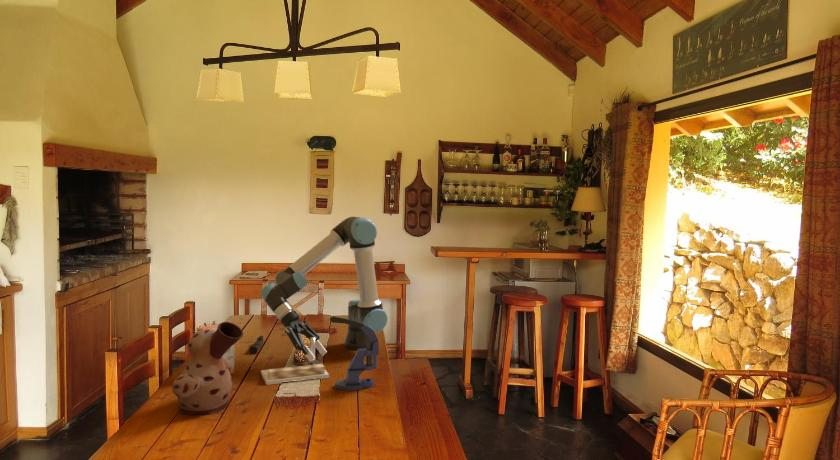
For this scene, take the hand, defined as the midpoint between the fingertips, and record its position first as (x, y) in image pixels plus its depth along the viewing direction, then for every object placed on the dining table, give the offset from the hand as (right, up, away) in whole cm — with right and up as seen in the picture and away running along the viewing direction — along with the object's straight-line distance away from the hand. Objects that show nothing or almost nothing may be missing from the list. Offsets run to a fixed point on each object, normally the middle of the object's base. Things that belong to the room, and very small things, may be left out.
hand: (319, 356), depth 239 cm
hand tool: (-36, -4, +34) cm, 49 cm away
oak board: (-7, -6, -8) cm, 13 cm away
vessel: (-31, -9, -39) cm, 51 cm away
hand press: (+16, -8, -15) cm, 24 cm away
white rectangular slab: (-9, -7, -5) cm, 12 cm away
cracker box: (-41, -6, -8) cm, 42 cm away
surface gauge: (-3, -5, +1) cm, 6 cm away
